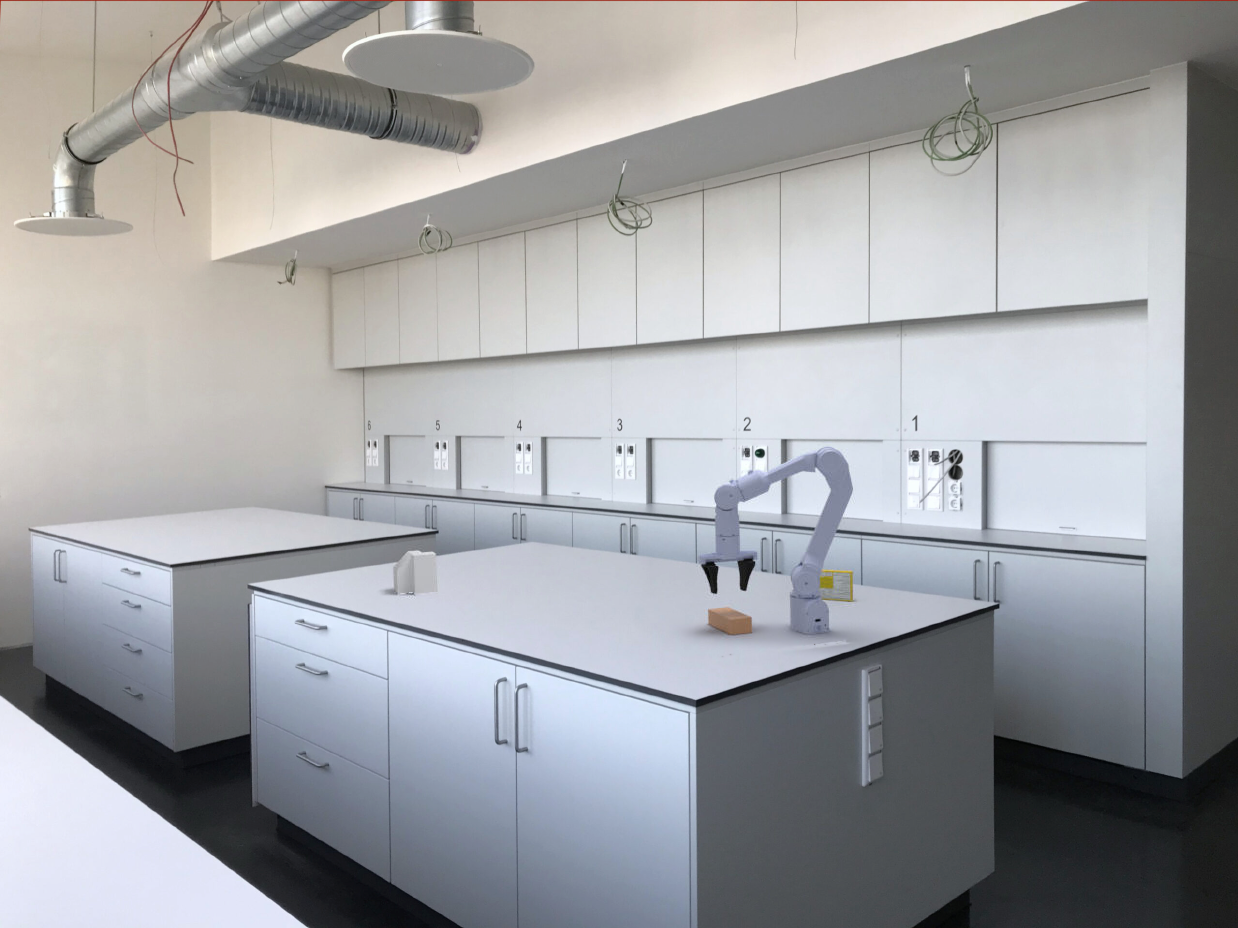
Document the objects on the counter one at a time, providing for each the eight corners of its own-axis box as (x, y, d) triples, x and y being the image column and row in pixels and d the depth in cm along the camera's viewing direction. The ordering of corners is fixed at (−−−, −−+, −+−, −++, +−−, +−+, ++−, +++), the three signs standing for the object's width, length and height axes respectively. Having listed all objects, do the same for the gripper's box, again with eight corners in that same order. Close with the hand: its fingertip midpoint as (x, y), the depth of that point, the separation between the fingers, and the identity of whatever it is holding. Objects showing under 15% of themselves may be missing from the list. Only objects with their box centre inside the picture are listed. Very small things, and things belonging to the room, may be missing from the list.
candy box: (853, 600, 261) (853, 570, 260) (851, 602, 259) (851, 571, 258) (797, 596, 269) (796, 567, 268) (794, 597, 267) (793, 568, 267)
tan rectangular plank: (751, 632, 223) (751, 617, 223) (730, 634, 221) (730, 619, 221) (728, 621, 235) (728, 607, 235) (708, 623, 233) (708, 609, 233)
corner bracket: (437, 593, 289) (435, 553, 288) (399, 597, 285) (397, 557, 284) (431, 587, 299) (429, 549, 298) (394, 591, 295) (392, 552, 294)
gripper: (747, 530, 233) (748, 586, 234) (692, 535, 228) (694, 591, 229) (760, 534, 226) (762, 591, 227) (704, 538, 222) (706, 596, 223)
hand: (728, 591), depth 228 cm, fingers open, 7 cm apart
